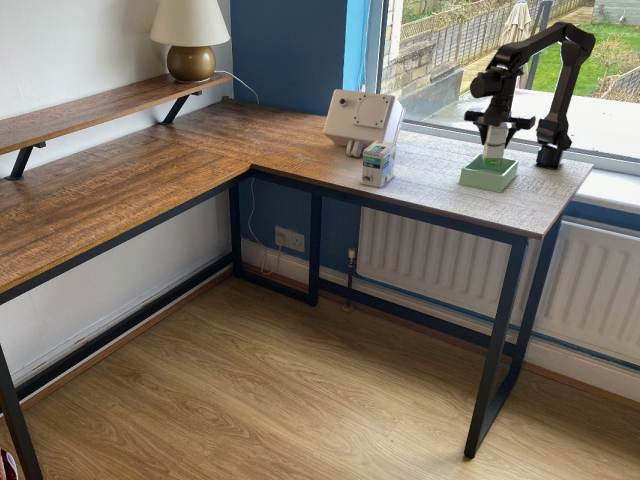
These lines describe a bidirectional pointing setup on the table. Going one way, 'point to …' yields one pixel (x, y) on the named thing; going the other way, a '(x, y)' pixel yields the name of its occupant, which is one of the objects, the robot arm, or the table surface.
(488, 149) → the ink box
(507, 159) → the open green storage box
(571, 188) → the table surface
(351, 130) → the junction box
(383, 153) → the light bulb box
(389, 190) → the table surface
